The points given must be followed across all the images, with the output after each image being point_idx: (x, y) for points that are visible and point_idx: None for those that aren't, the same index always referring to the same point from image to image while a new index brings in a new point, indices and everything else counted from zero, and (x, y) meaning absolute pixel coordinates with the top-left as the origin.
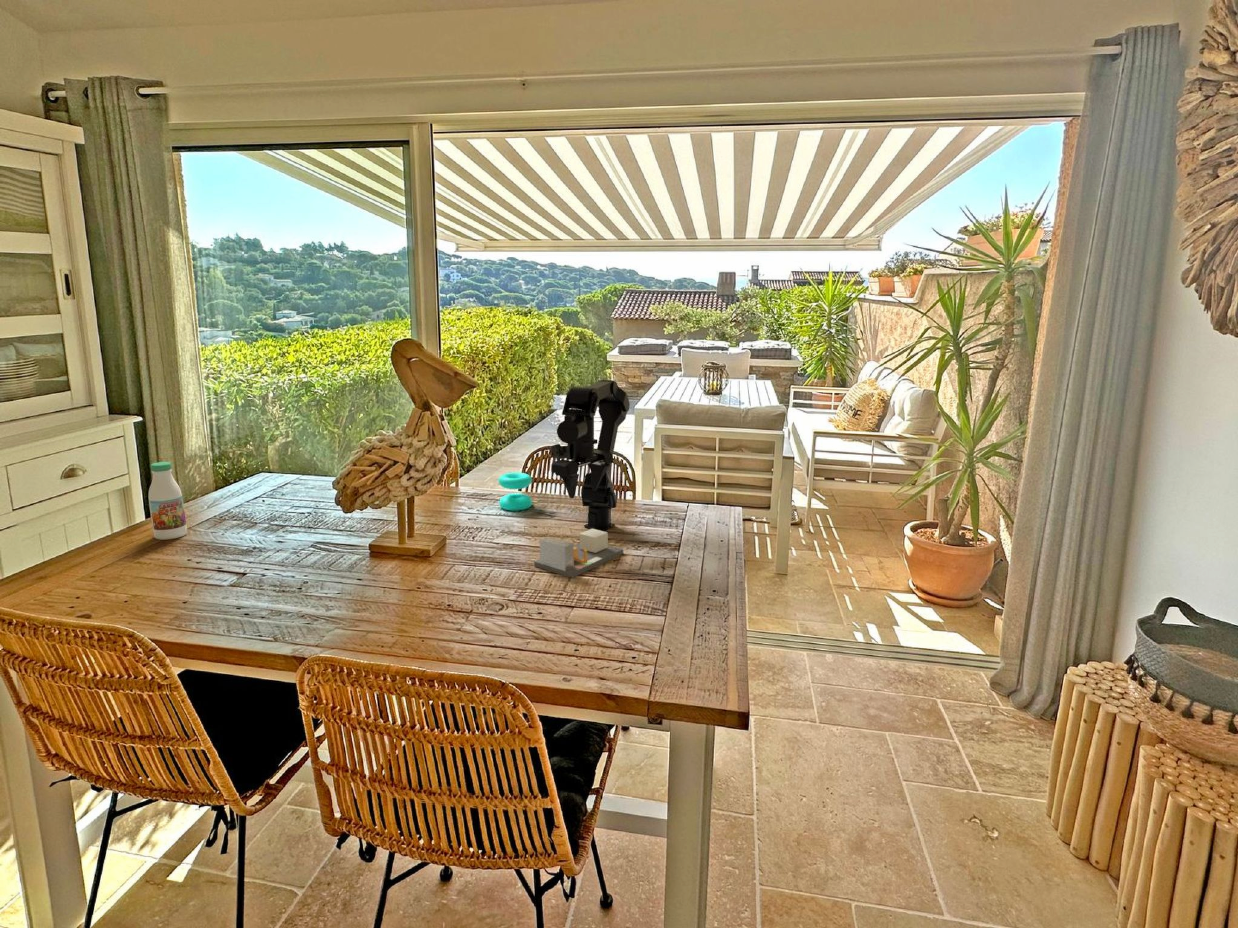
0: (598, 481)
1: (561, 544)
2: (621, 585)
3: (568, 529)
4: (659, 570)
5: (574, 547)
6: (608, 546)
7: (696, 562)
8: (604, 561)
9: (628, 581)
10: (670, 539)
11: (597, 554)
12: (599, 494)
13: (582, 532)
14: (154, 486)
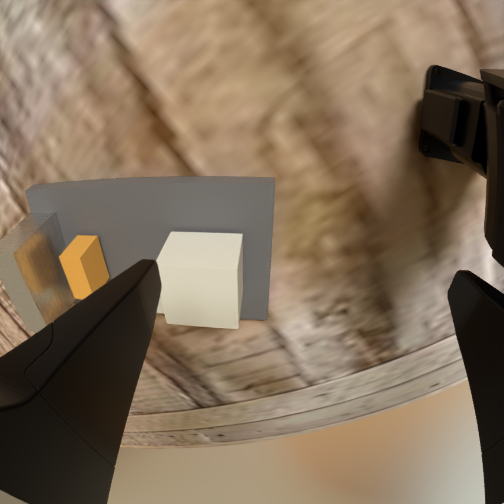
0: (468, 377)
1: (25, 316)
2: None
3: (374, 19)
4: (232, 387)
5: (89, 292)
6: (260, 281)
7: (309, 405)
8: None
9: (149, 370)
10: (421, 333)
11: None
12: (501, 231)
13: (170, 266)
14: None
